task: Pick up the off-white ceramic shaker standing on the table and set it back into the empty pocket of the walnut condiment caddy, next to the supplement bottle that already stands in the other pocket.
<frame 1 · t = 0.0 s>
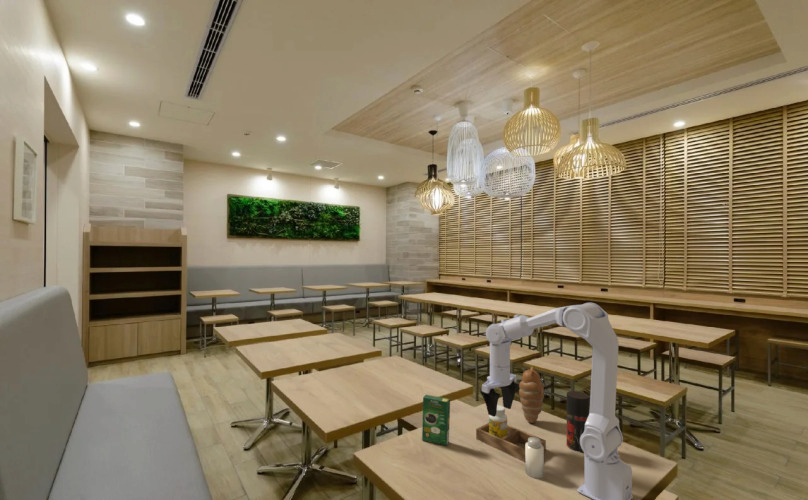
hand: (499, 411, 108), 10 cm above the table, tool pointing down, fingers open, 7 cm apart
deodorant: (577, 447, 108), on the table
coffee box: (436, 442, 111), on the table
caddy: (509, 444, 109), on the table
shaker: (534, 473, 95), on the table
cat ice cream: (531, 422, 124), on the table
supplement bottle: (498, 440, 112), resting in caddy
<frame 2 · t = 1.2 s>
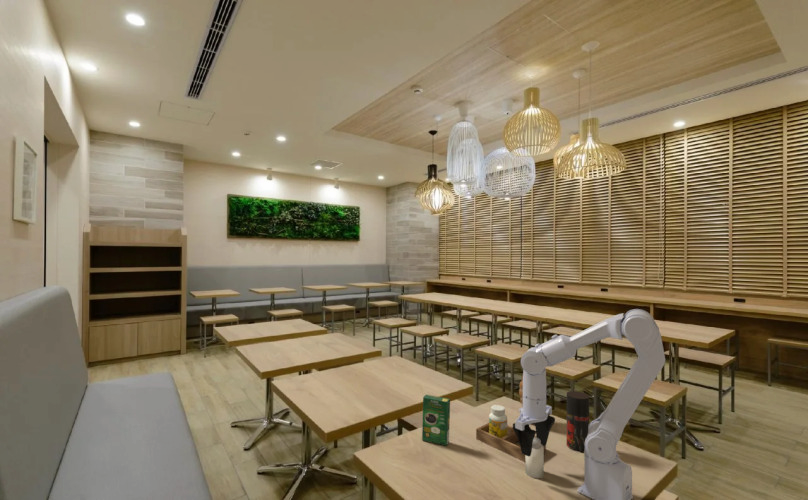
hand: (534, 449, 95), 6 cm above the table, tool pointing down, fingers open, 7 cm apart
nothing on the table moved.
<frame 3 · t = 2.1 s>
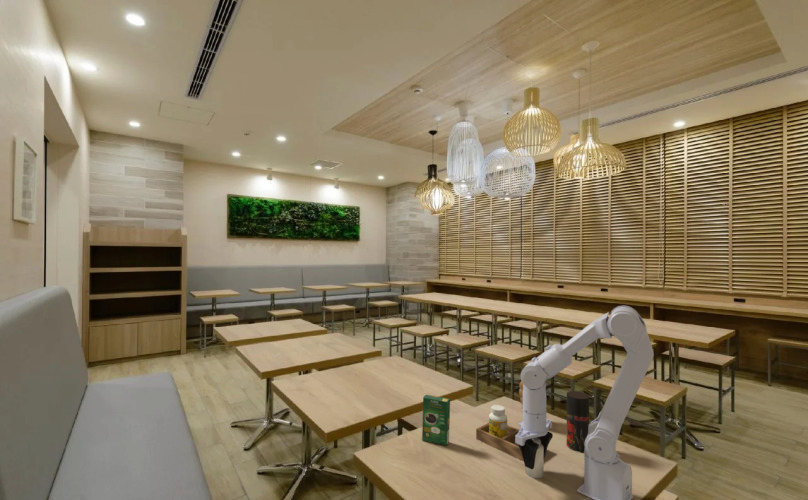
hand: (534, 463, 95), 2 cm above the table, tool pointing down, fingers closed on shaker, 4 cm apart
shaker: (534, 473, 95), on the table, touching gripper
everything else where it was.
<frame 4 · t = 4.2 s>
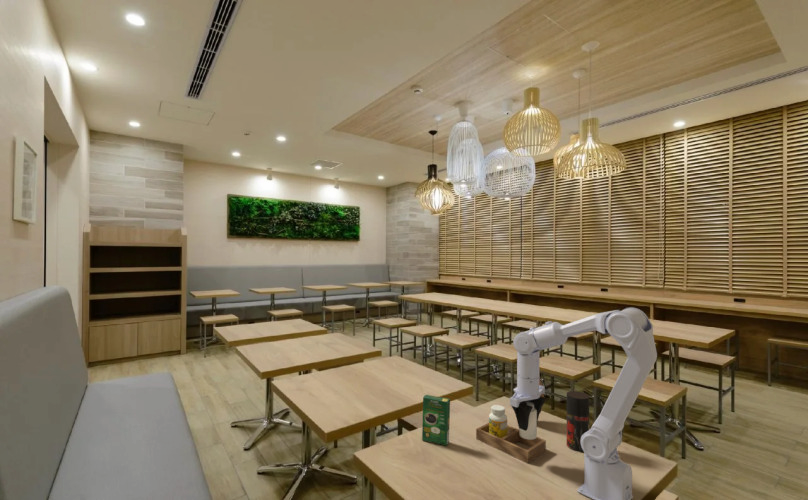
hand: (527, 426, 101), 9 cm above the table, tool pointing down, fingers closed on shaker, 4 cm apart
shaker: (527, 435, 100), point 7 cm above the table, touching gripper
everything else where it was.
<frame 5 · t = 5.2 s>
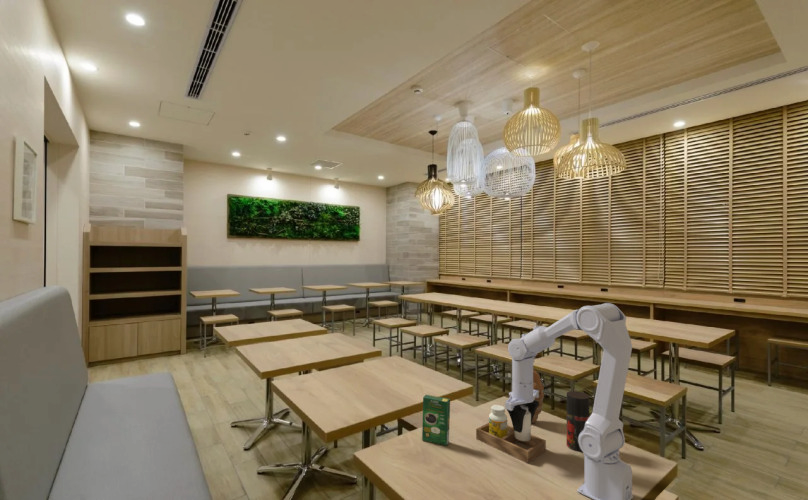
hand: (522, 428, 106), 6 cm above the table, tool pointing down, fingers closed on shaker, 4 cm apart
shaker: (522, 437, 106), point 4 cm above the table, touching gripper
everything else where it was.
when the fingers open (4 cm above the table, at t = 6.1 s): shaker drops 1 cm, resting in caddy.
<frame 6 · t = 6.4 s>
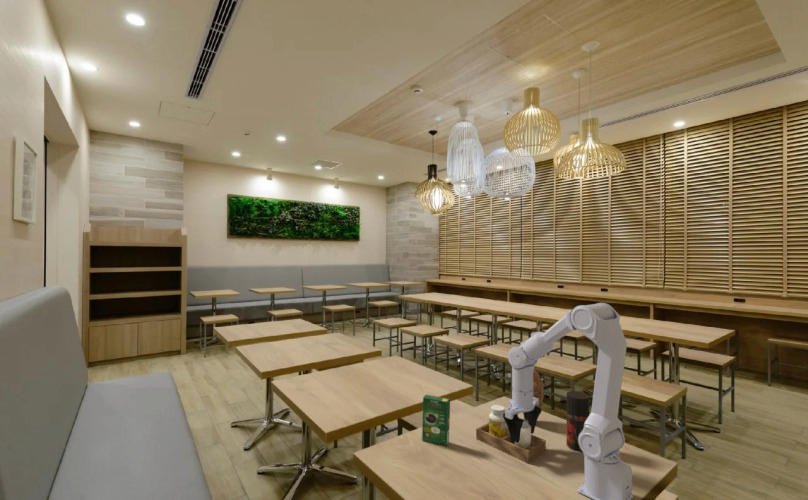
hand: (522, 436, 106), 4 cm above the table, tool pointing down, fingers open, 7 cm apart
shaker: (522, 450, 106), resting in caddy
everything else where it was.
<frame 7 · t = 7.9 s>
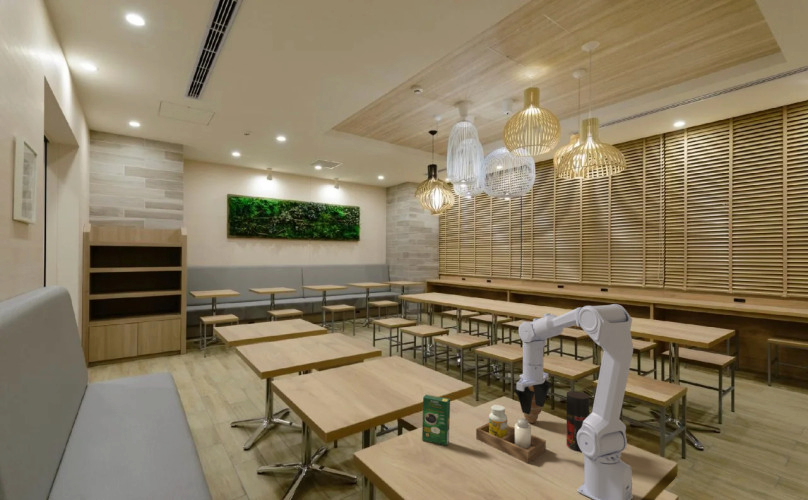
hand: (533, 409, 109), 10 cm above the table, tool pointing down, fingers open, 7 cm apart
nothing on the table moved.
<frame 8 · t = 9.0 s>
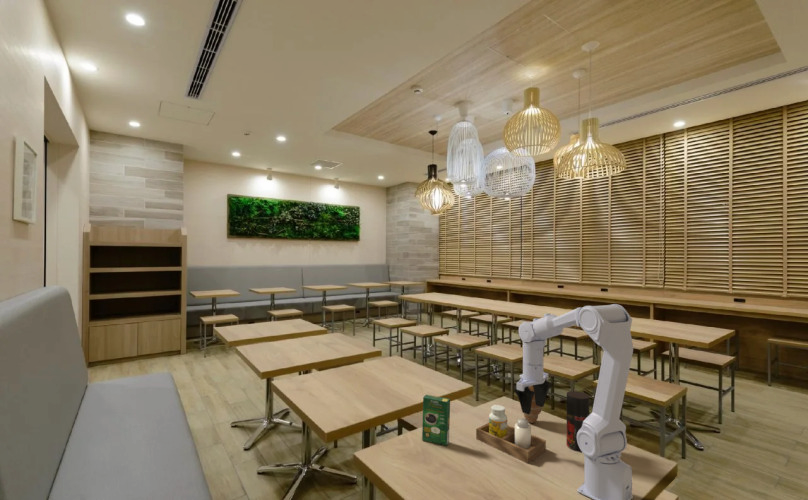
hand: (533, 409, 109), 10 cm above the table, tool pointing down, fingers open, 7 cm apart
nothing on the table moved.
at the end: shaker 0.2 cm from the target spot on the caddy, point 0.0 cm above the caddy's base; shaker tilted 0°; the gripper is holding nothing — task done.
